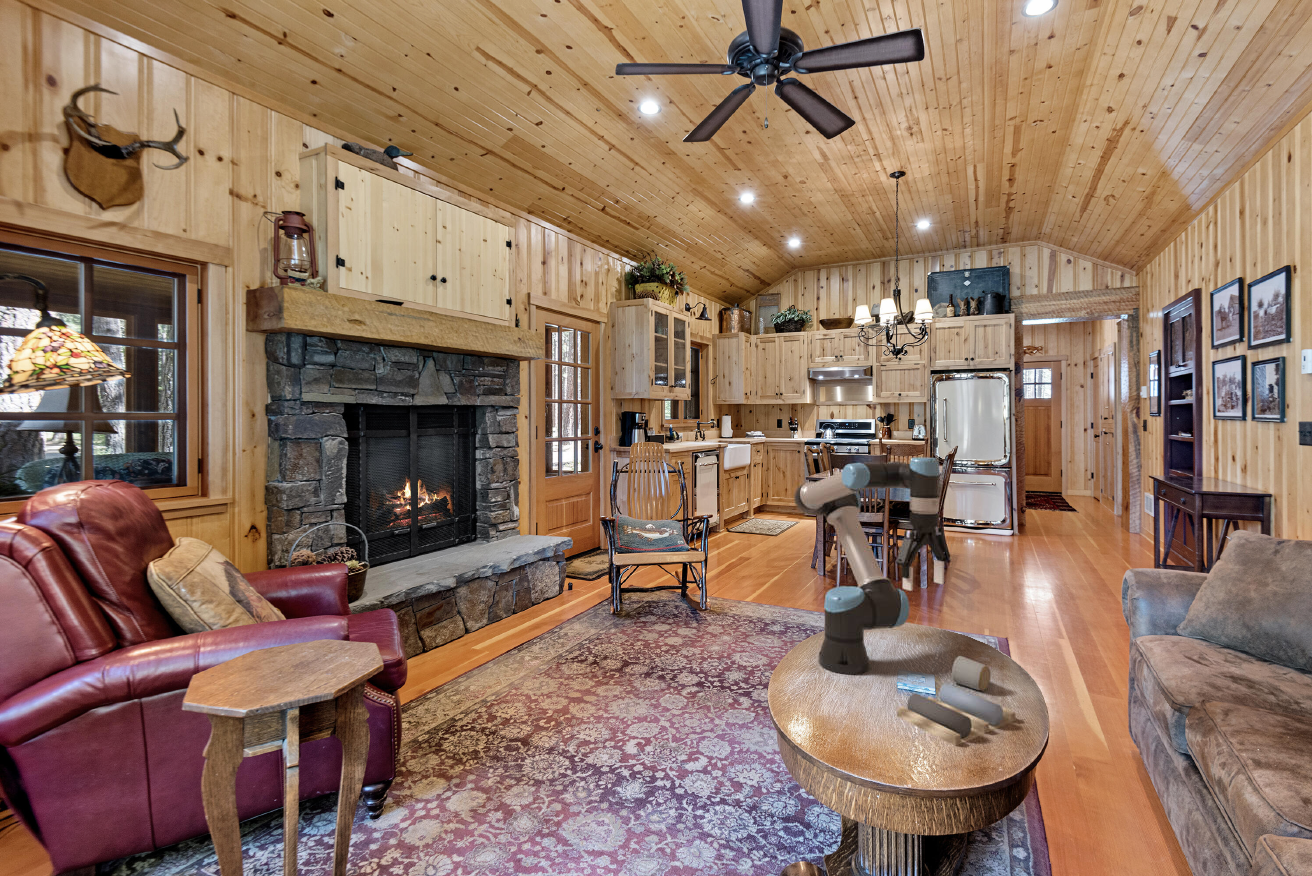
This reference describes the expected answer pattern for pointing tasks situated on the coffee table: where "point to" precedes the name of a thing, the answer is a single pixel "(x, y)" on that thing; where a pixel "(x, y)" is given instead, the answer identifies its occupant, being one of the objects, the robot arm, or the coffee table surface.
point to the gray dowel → (971, 704)
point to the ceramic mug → (970, 673)
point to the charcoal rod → (940, 714)
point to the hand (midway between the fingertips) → (923, 586)
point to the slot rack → (949, 735)
